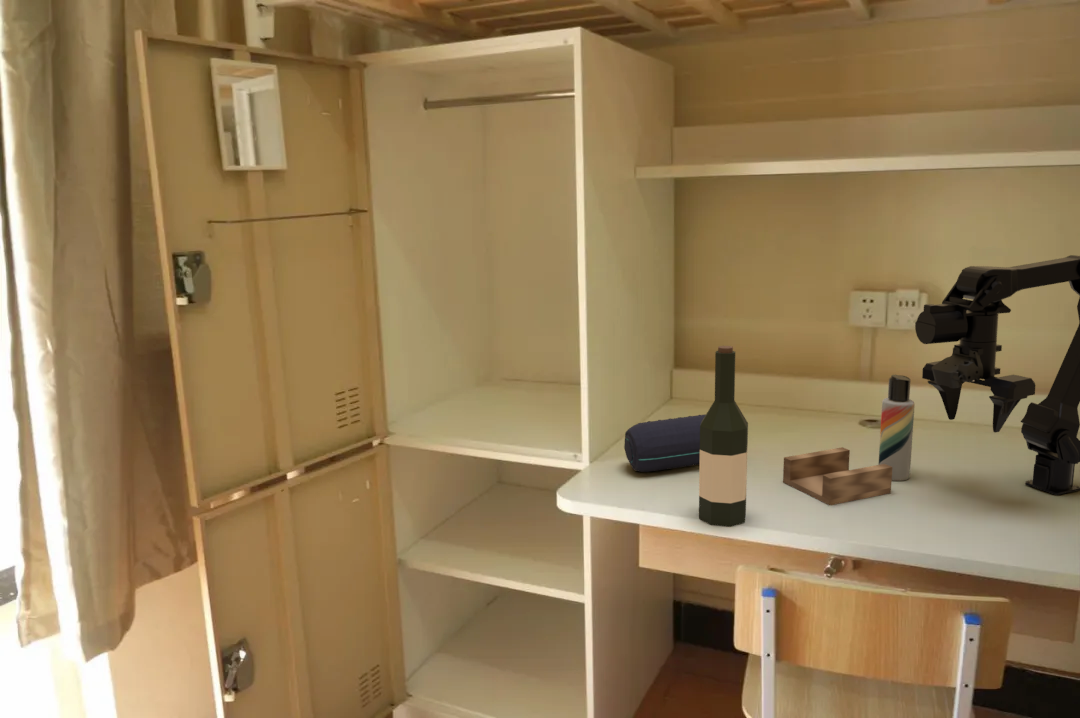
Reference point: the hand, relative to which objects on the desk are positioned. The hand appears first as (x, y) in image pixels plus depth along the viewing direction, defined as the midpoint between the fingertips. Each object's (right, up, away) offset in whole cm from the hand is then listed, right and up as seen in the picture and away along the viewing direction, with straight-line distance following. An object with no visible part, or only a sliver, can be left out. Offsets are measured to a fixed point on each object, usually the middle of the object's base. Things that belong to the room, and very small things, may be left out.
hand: (973, 425), depth 147 cm
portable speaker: (-48, -10, +23) cm, 54 cm away
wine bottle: (-46, -16, -4) cm, 48 cm away
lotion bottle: (-9, -11, +13) cm, 19 cm away
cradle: (-22, -12, +8) cm, 26 cm away
